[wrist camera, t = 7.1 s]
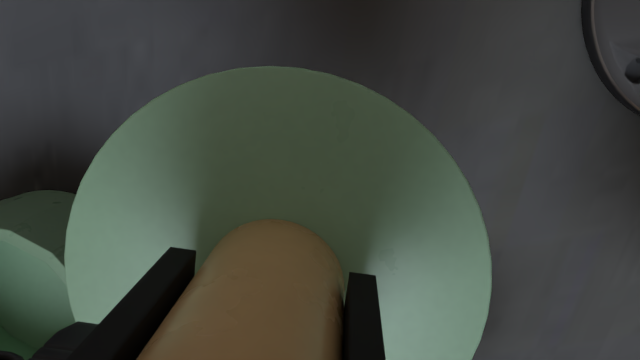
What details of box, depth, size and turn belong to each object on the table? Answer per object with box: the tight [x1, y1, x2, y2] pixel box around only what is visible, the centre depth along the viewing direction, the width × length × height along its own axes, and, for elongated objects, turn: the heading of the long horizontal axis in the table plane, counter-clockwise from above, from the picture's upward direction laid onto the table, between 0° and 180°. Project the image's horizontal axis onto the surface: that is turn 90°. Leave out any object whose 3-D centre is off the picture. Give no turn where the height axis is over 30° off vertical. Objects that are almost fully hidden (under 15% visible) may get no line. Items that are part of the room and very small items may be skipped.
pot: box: [0, 190, 76, 360], centre depth 33 cm, size 12×12×8 cm
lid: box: [64, 66, 492, 360], centre depth 13 cm, size 13×13×10 cm
